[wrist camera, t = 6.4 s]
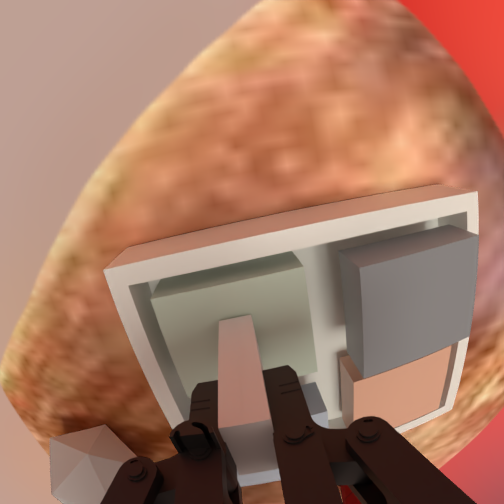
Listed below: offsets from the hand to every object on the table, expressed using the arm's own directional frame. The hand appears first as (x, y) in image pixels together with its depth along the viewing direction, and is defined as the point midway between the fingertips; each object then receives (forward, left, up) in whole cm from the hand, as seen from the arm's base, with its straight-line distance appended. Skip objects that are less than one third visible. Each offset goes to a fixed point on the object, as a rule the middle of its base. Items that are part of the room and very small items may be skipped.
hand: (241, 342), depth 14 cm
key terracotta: (+9, -8, -3) cm, 12 cm away
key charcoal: (+9, 0, -1) cm, 9 cm away
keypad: (+4, -4, -5) cm, 7 cm away
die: (-15, -12, -5) cm, 19 cm away
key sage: (0, 0, -3) cm, 3 cm away
